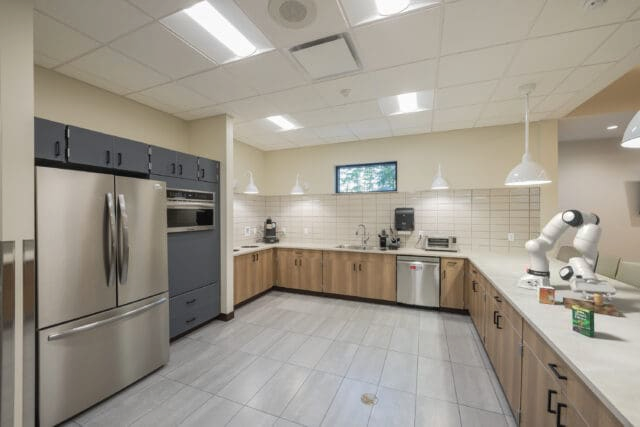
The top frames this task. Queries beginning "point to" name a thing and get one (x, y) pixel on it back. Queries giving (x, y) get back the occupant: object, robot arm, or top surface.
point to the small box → (546, 295)
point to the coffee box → (583, 320)
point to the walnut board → (591, 306)
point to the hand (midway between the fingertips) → (599, 299)
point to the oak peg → (598, 300)
